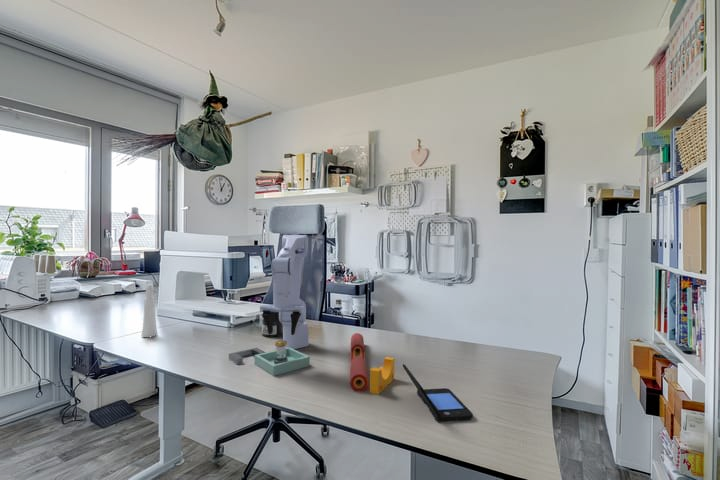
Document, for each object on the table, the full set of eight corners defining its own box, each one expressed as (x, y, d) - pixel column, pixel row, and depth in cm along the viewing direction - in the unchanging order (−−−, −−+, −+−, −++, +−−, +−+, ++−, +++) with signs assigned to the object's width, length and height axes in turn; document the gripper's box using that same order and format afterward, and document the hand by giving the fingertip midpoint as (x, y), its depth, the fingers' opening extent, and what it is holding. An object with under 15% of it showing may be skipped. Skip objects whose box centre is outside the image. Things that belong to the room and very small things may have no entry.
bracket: (256, 352, 128) (256, 347, 128) (265, 357, 122) (265, 352, 122) (228, 358, 121) (228, 353, 121) (236, 364, 115) (237, 359, 115)
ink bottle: (257, 335, 151) (257, 307, 151) (272, 330, 158) (273, 304, 158) (272, 338, 145) (272, 310, 145) (287, 334, 152) (288, 307, 152)
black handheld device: (475, 421, 81) (475, 383, 81) (418, 425, 79) (419, 386, 79) (448, 392, 97) (449, 360, 96) (401, 395, 95) (401, 362, 95)
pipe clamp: (381, 376, 107) (381, 355, 107) (394, 379, 105) (394, 358, 105) (364, 391, 96) (364, 368, 96) (378, 395, 94) (378, 371, 94)
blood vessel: (367, 391, 97) (368, 374, 97) (349, 391, 96) (350, 374, 96) (363, 345, 138) (363, 333, 138) (350, 345, 138) (350, 332, 138)
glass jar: (275, 360, 117) (276, 340, 117) (288, 360, 117) (288, 340, 117) (272, 365, 113) (272, 343, 113) (286, 365, 113) (286, 344, 113)
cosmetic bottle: (158, 333, 152) (158, 283, 152) (156, 336, 146) (157, 285, 146) (142, 334, 149) (142, 283, 149) (139, 338, 144) (140, 285, 144)
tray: (289, 355, 125) (289, 347, 125) (309, 365, 115) (309, 356, 115) (254, 364, 116) (254, 355, 116) (273, 376, 106) (273, 366, 106)
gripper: (256, 294, 112) (256, 336, 112) (300, 295, 111) (300, 337, 111) (264, 291, 119) (263, 330, 119) (305, 292, 118) (305, 331, 118)
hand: (281, 333), depth 116 cm, fingers open, 7 cm apart
